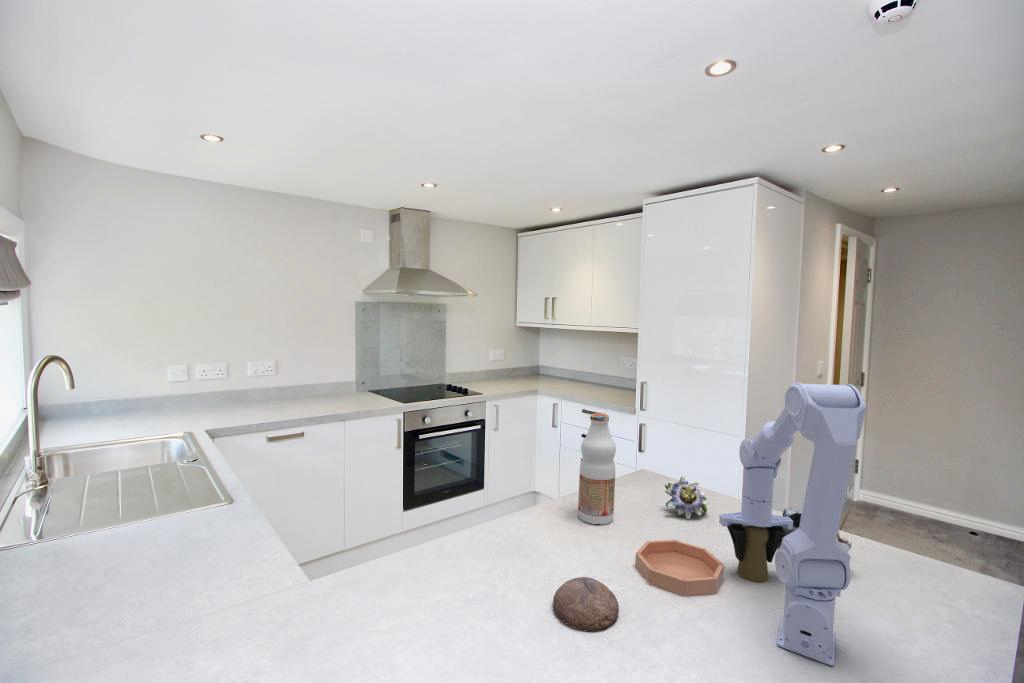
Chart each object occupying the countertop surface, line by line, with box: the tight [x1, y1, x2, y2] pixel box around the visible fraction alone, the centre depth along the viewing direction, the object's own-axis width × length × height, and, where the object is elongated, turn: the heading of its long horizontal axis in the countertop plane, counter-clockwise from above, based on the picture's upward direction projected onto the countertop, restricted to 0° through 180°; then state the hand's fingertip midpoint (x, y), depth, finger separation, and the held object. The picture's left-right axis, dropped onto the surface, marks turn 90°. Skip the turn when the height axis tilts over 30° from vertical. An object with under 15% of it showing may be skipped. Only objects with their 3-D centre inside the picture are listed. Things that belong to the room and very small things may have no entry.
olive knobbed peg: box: [736, 525, 769, 584], centre depth 102 cm, size 6×6×11 cm
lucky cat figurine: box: [778, 506, 852, 552], centre depth 110 cm, size 15×12×14 cm
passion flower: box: [664, 476, 710, 521], centre depth 134 cm, size 11×11×12 cm
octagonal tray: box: [634, 539, 725, 597], centre depth 103 cm, size 17×17×3 cm
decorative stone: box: [552, 576, 620, 632], centre depth 88 cm, size 12×12×6 cm
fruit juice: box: [577, 413, 617, 525], centre depth 128 cm, size 9×9×28 cm
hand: (753, 559), depth 102 cm, fingers open, 5 cm apart
